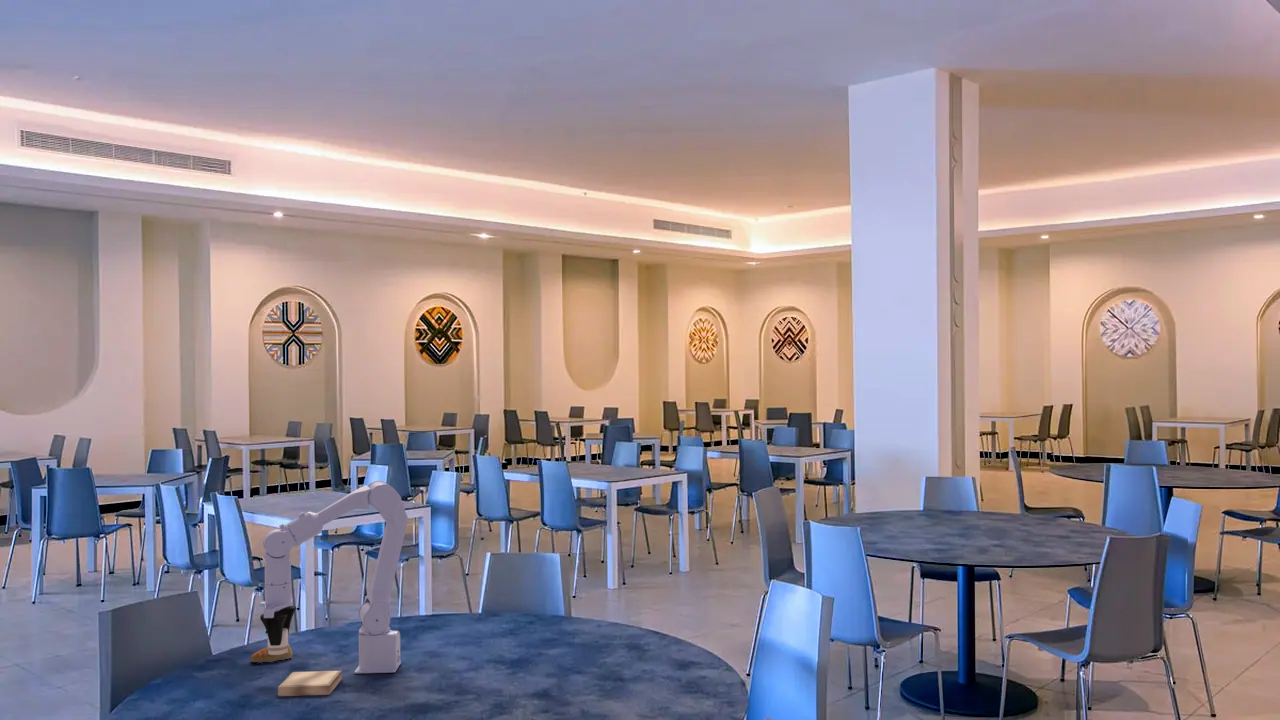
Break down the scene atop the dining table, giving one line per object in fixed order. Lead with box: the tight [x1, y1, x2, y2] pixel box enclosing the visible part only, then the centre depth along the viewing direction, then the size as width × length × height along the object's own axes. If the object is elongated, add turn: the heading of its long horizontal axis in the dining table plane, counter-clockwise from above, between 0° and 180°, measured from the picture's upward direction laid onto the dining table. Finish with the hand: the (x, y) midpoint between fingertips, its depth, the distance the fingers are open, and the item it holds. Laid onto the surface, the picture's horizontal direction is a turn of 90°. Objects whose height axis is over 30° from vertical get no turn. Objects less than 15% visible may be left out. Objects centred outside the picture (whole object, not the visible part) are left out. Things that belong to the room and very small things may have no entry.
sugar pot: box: [266, 628, 289, 655], centre depth 232 cm, size 4×4×5 cm
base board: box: [277, 670, 343, 697], centre depth 226 cm, size 11×11×2 cm
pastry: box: [250, 642, 293, 663], centre depth 249 cm, size 9×7×4 cm
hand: (279, 642), depth 232 cm, fingers closed on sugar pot, 4 cm apart
